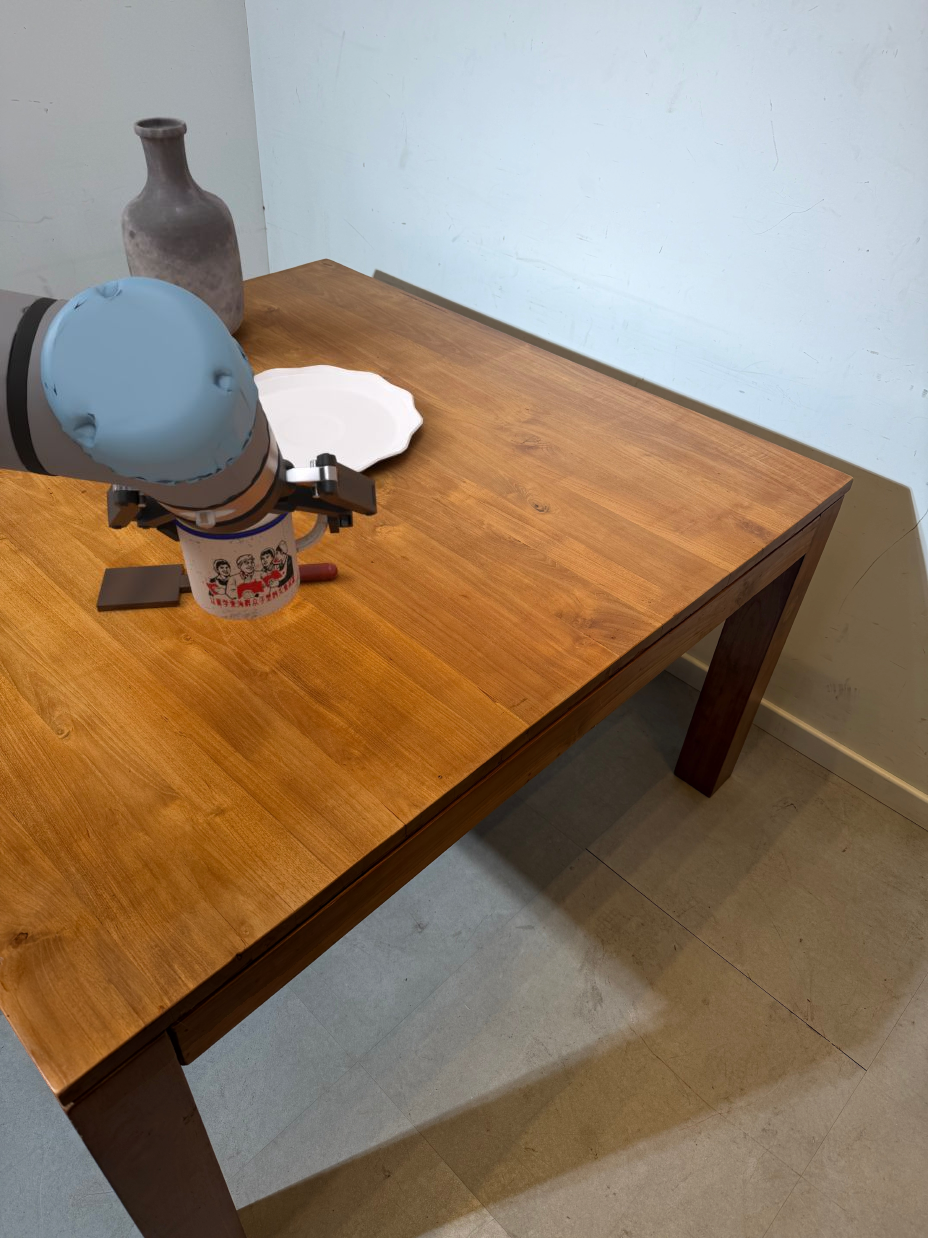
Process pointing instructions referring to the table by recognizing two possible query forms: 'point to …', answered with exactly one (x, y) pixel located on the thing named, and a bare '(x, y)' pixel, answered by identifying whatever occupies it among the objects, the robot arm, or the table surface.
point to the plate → (336, 415)
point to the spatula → (168, 585)
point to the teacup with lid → (246, 566)
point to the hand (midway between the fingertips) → (257, 520)
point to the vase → (182, 226)
